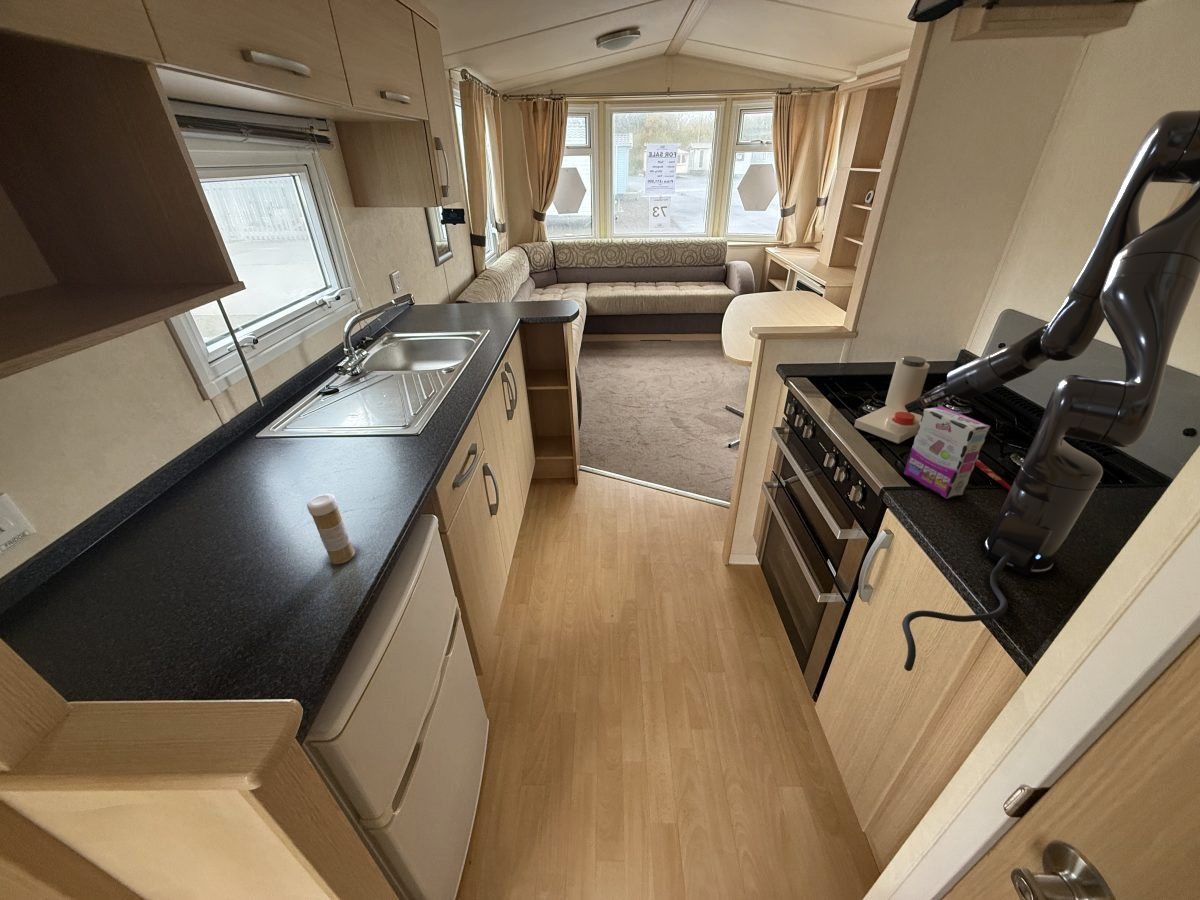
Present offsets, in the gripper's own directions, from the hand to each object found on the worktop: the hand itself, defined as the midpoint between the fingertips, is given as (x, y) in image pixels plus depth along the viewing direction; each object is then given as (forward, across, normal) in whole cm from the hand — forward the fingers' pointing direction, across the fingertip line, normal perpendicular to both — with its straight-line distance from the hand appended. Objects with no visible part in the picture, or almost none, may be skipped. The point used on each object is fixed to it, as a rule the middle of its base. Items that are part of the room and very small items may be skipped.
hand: (907, 408), depth 122 cm
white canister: (+6, -9, -1) cm, 11 cm away
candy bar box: (-6, +17, +17) cm, 25 cm away
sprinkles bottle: (+30, +130, -20) cm, 135 cm away
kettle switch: (+3, 0, +3) cm, 4 cm away
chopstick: (-10, +3, +20) cm, 23 cm away
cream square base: (+8, -3, +3) cm, 9 cm away
